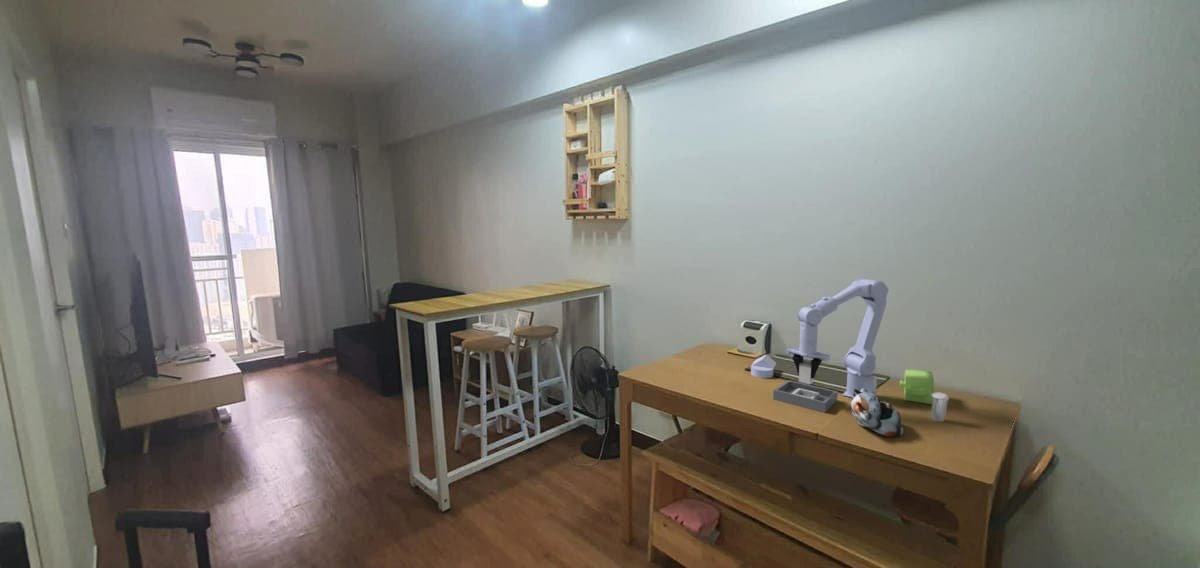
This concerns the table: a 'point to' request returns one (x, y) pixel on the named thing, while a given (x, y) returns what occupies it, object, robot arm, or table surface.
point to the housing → (805, 395)
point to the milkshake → (939, 406)
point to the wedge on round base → (763, 367)
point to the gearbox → (918, 386)
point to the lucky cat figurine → (876, 414)
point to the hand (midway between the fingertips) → (806, 376)
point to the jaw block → (805, 372)
